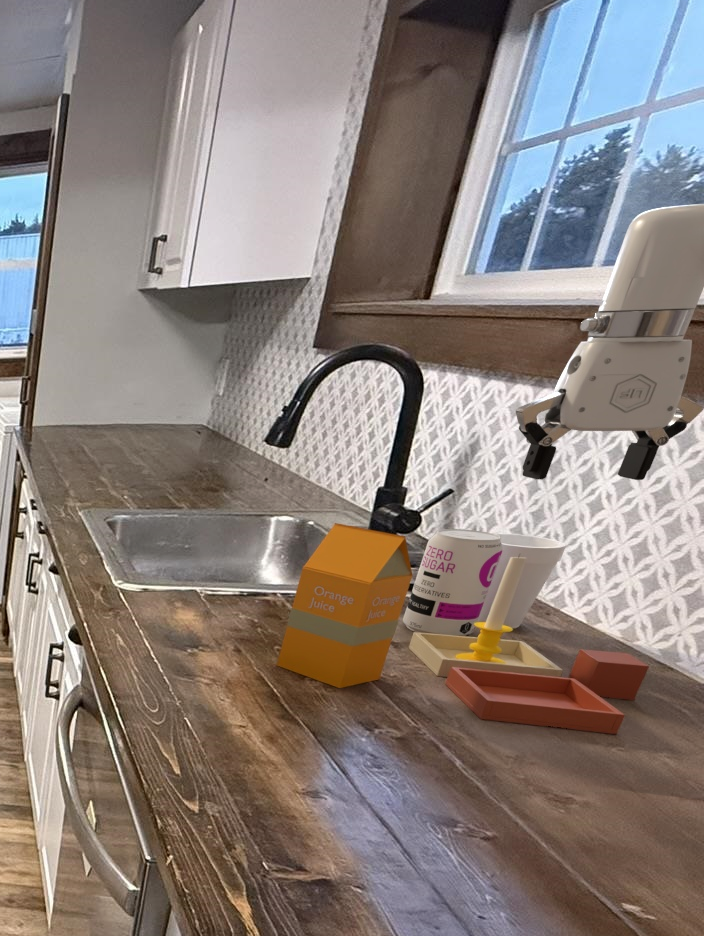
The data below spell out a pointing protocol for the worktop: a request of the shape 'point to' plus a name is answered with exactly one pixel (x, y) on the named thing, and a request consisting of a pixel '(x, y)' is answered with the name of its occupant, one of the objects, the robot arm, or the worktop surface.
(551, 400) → the robot arm
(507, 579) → the candle
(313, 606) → the orange juice
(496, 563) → the supplement can
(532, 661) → the cream tray
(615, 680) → the terracotta block
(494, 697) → the terracotta tray
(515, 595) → the foam cup
